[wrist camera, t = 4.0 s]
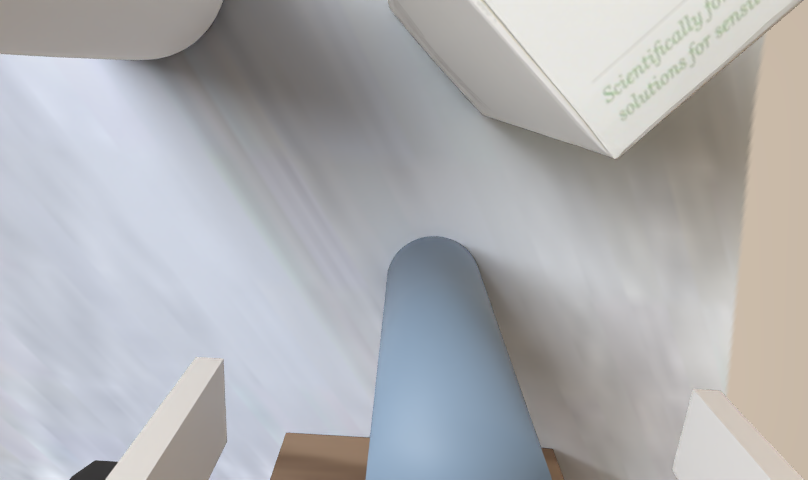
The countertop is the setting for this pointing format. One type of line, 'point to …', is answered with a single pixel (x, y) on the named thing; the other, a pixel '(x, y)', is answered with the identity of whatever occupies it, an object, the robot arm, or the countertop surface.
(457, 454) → the peg
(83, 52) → the milk bottle
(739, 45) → the skincare box
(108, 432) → the countertop surface
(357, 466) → the socket block
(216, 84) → the countertop surface
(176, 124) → the countertop surface
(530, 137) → the countertop surface
